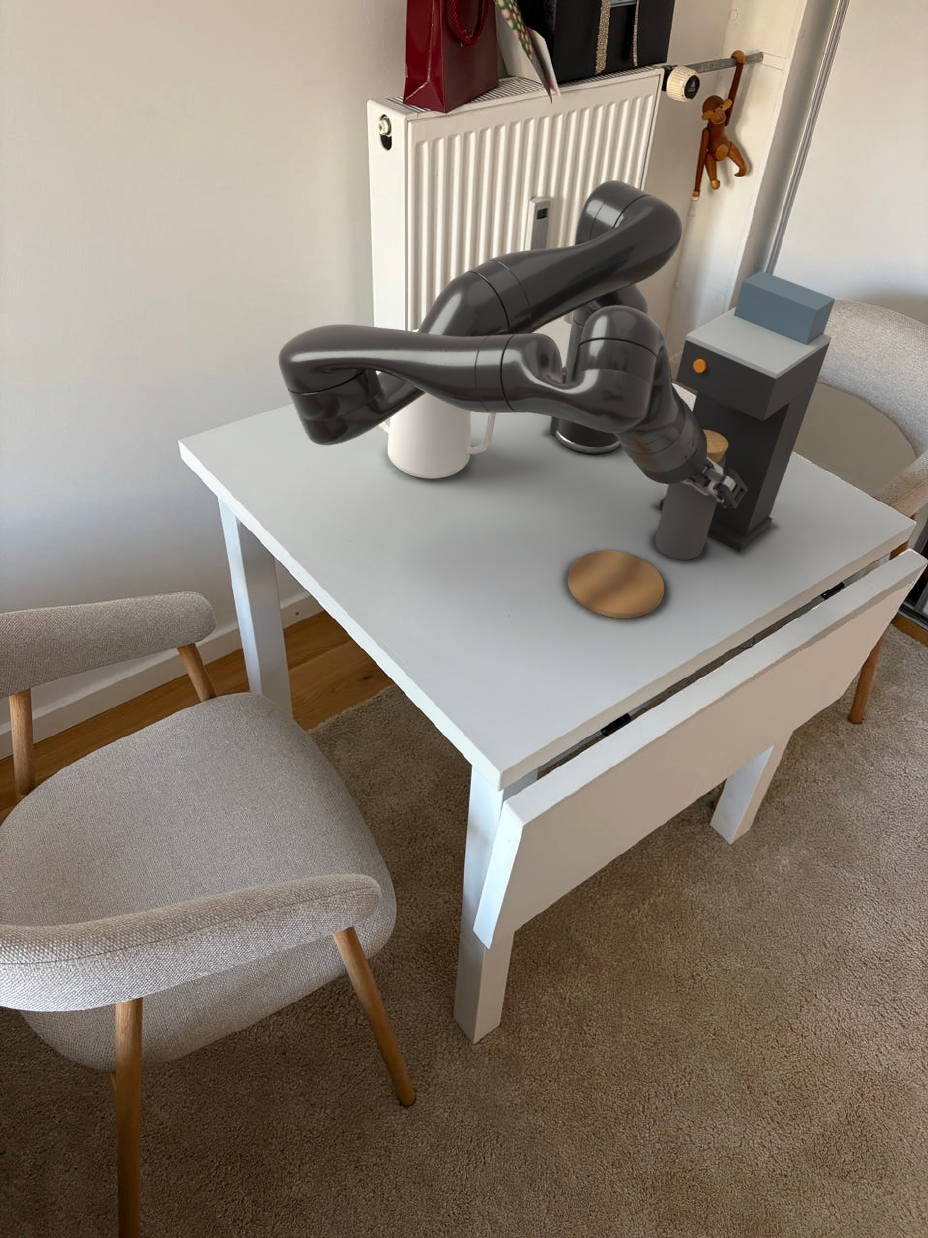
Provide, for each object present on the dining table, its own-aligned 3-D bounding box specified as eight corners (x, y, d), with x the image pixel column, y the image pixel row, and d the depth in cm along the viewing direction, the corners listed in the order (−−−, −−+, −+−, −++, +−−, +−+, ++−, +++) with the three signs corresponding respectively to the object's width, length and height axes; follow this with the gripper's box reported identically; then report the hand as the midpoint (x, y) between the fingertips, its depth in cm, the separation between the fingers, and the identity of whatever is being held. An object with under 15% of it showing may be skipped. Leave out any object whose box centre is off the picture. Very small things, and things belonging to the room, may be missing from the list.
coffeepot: (510, 505, 124) (526, 370, 111) (328, 457, 129) (323, 323, 116) (534, 460, 131) (552, 329, 118) (361, 416, 136) (361, 286, 123)
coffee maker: (719, 570, 117) (791, 340, 97) (636, 524, 122) (688, 298, 102) (770, 526, 124) (848, 303, 104) (690, 484, 130) (749, 265, 109)
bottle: (701, 564, 118) (733, 458, 107) (652, 555, 118) (680, 449, 108) (703, 535, 122) (734, 430, 112) (656, 526, 122) (682, 422, 112)
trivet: (550, 592, 112) (551, 587, 112) (594, 543, 119) (595, 538, 119) (638, 632, 108) (639, 627, 108) (677, 579, 115) (679, 574, 115)
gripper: (585, 438, 103) (628, 485, 118) (701, 498, 97) (731, 540, 111) (624, 376, 103) (662, 430, 117) (742, 432, 96) (768, 482, 111)
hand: (696, 484), depth 114 cm, fingers open, 8 cm apart
